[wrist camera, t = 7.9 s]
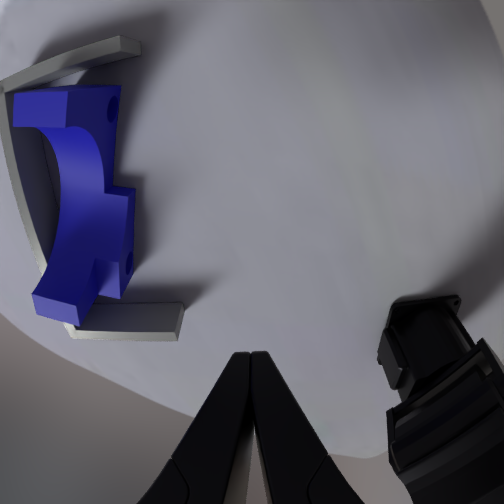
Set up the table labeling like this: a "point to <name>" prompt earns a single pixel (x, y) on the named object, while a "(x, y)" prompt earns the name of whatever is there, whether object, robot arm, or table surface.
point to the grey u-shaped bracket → (44, 204)
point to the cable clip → (82, 198)
